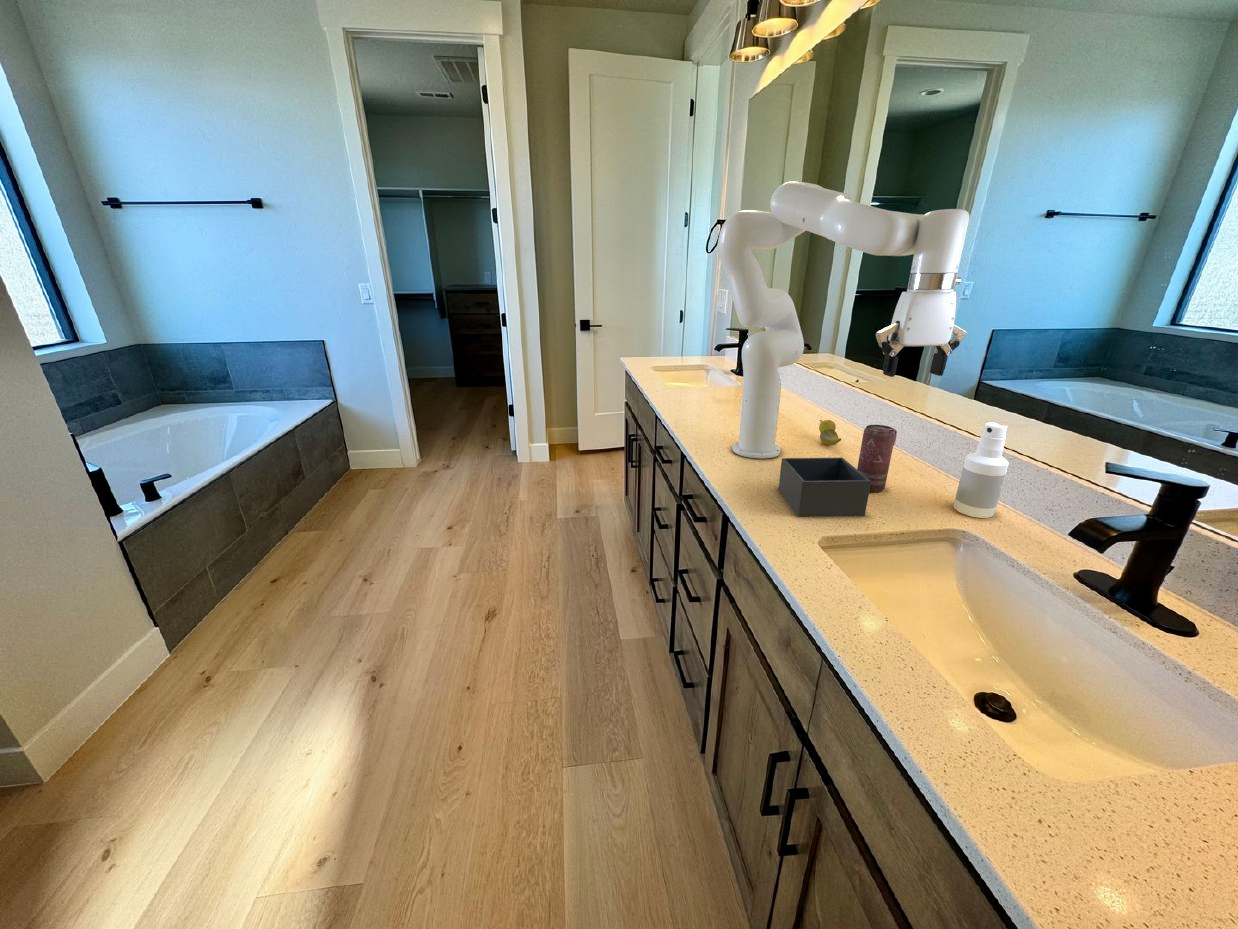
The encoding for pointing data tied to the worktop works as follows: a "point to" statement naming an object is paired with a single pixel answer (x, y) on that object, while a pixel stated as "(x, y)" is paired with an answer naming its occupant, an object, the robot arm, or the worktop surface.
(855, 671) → the worktop surface
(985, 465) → the spray bottle
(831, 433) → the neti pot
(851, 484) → the bin
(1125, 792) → the worktop surface
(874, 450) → the can
